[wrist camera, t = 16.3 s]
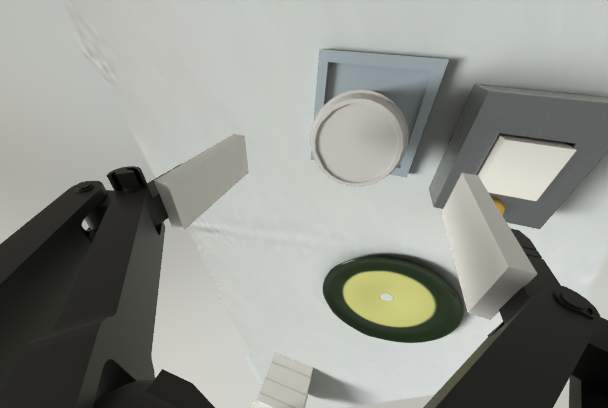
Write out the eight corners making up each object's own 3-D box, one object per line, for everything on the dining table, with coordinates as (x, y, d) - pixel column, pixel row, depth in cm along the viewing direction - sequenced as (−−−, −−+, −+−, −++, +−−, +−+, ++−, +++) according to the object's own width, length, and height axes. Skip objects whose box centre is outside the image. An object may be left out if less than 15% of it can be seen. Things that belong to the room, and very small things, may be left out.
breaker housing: (474, 84, 26) (494, 93, 21) (604, 96, 24) (664, 111, 18) (428, 190, 35) (434, 216, 29) (519, 208, 32) (544, 240, 27)
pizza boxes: (273, 378, 103) (253, 431, 89) (270, 348, 85) (246, 408, 71) (314, 395, 99) (300, 453, 85) (320, 367, 81) (304, 435, 67)
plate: (432, 346, 56) (433, 357, 54) (320, 310, 62) (318, 319, 60) (489, 272, 39) (494, 284, 38) (331, 234, 46) (328, 243, 44)
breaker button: (487, 124, 27) (504, 139, 23) (546, 132, 26) (576, 149, 22) (464, 169, 31) (475, 189, 27) (515, 178, 30) (536, 201, 25)
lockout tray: (322, 49, 29) (319, 49, 28) (446, 58, 26) (449, 59, 25) (313, 155, 37) (310, 159, 36) (406, 172, 34) (406, 177, 33)
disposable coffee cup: (420, 116, 29) (433, 150, 20) (362, 162, 35) (351, 205, 26) (370, 58, 28) (359, 64, 18) (318, 116, 33) (288, 144, 24)
